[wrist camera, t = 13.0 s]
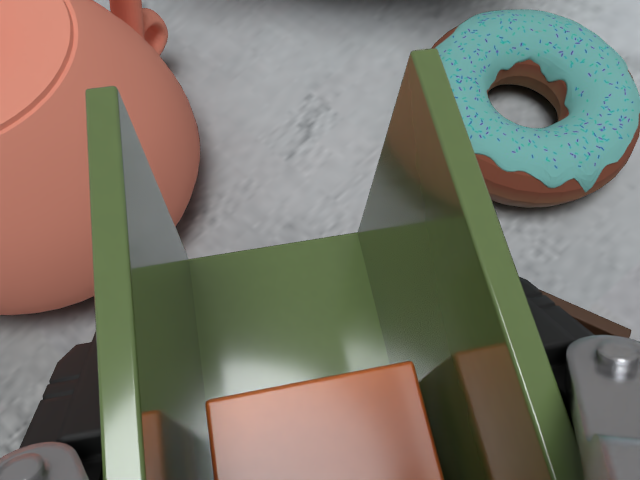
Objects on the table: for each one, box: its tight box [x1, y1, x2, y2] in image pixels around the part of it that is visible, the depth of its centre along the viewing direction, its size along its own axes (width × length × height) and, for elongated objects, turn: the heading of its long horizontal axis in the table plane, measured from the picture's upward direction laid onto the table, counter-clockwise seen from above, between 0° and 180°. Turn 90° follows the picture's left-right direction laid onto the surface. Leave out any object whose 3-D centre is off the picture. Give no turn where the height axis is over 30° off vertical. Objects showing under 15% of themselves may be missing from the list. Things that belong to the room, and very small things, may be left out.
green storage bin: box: [85, 48, 584, 480], centre depth 11 cm, size 10×6×8 cm, turn 11°
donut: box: [431, 9, 640, 208], centre depth 30 cm, size 12×12×4 cm
